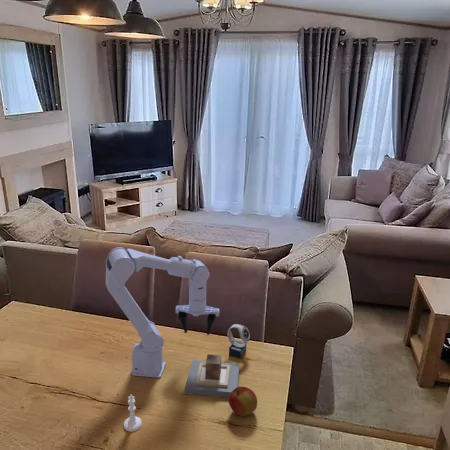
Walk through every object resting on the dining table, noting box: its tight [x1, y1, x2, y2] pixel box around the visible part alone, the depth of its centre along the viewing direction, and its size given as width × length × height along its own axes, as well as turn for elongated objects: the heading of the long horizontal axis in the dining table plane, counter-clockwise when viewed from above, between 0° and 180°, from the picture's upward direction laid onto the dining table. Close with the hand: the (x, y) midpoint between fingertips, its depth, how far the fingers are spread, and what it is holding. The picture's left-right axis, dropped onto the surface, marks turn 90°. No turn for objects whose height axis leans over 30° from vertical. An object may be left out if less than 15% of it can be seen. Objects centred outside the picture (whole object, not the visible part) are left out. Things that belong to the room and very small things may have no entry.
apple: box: [228, 386, 258, 417], centre depth 119 cm, size 8×8×8 cm
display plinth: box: [184, 359, 240, 398], centre depth 133 cm, size 16×14×3 cm
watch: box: [226, 323, 251, 360], centre depth 146 cm, size 6×8×11 cm
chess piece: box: [123, 393, 143, 432], centre depth 113 cm, size 5×5×10 cm
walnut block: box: [205, 353, 222, 380], centre depth 132 cm, size 4×4×6 cm
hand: (197, 332), depth 141 cm, fingers open, 7 cm apart
